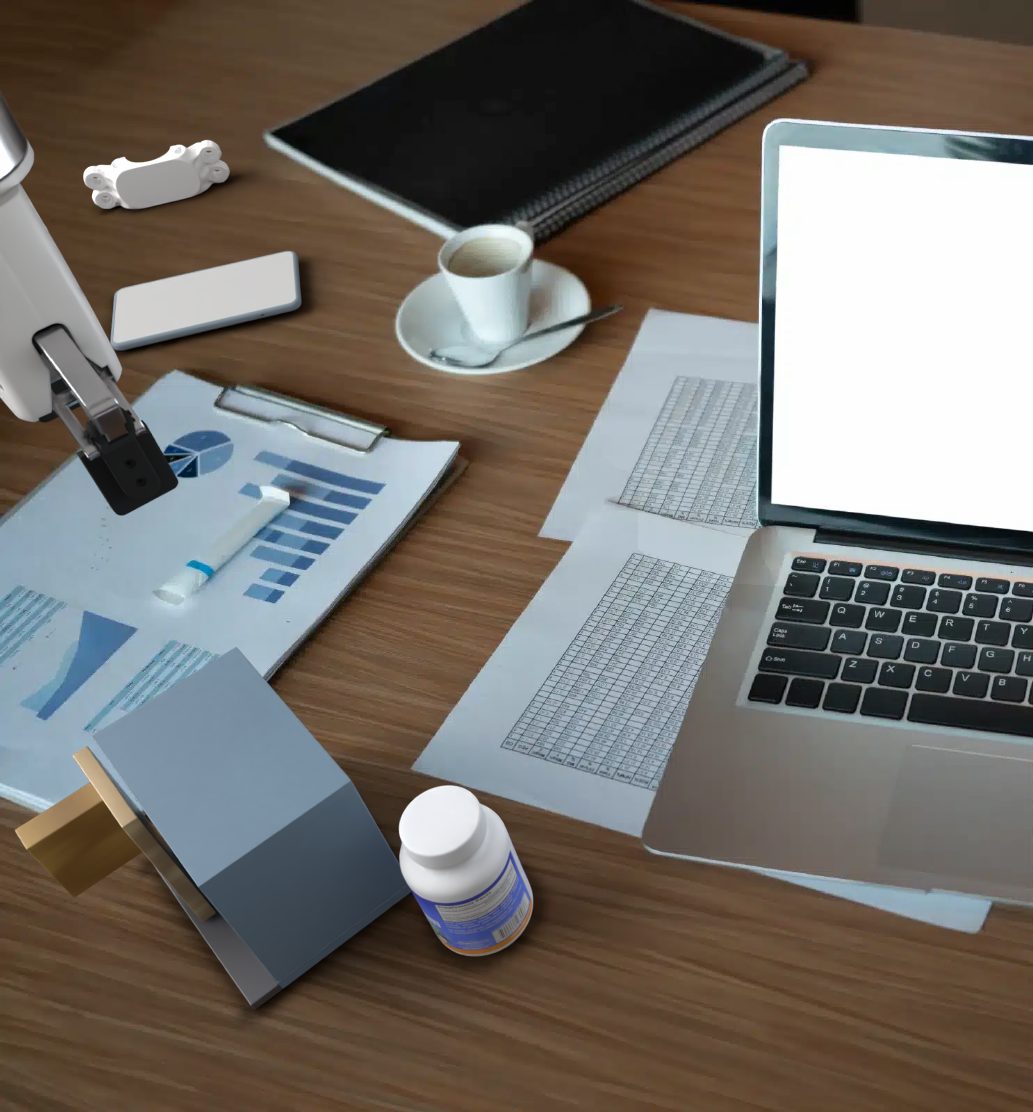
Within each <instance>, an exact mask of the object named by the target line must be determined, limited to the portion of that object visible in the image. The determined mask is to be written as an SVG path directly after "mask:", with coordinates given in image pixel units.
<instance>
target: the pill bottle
mask: <svg viewBox="0 0 1033 1112" xmlns="http://www.w3.org/2000/svg"><path fill="white" fill-rule="evenodd" d="M398 833H399V837H400V841H401V845H400V850H399V861H398V862H399V864H400V868H401V871H402V874H403V876H404V879H405V880H406V882H407V884H408V886H409V888H410V889H411V891H412V892H411V893H412V895H413V896H414V898H415V900H416V901H417V903H418V905H419V906H420V909H421V910H422V912H423V914H424V916H425V917H426V919H427V921H428V922H429V924H430V926H431V928H432V929H433V931H434V933H435V935H436V936H437V938H438V939H439V941H440V942H441V943H442V944H443V945H444V946H445V947H446V948H448V949H449V950H450V951H452V952H453V953H456V954H457V955H458V954H459V955H462V956H466V957H483V956H489V955H492V954H495V953H498V952H500V951H502V950H504V949H506V948H508V947H509V946H510V945H512V944H513V943H515V941H517V939H519V937H520V936H521V935H523V932H524V931H525V929H526V927H527V926H528V925H529V922H530V920H531V917H532V913H533V909H534V895H533V890H532V887H531V883H530V882H529V879H528V877H527V874H526V872H525V870H524V868H523V866H522V863H521V861H520V859H519V856H518V854H517V851H516V849H515V847H514V844H513V842H512V839H511V837H510V834H509V831H508V830H507V827H506V826H505V823H504V821H503V820H502V819H501V817H500V816H499V815H498V814H497V813H496V812H495V811H494V810H492V808H490V807H488V806H487V805H484V804H482V803H480V801H479V799H478V798H477V797H476V796H475V794H474V793H472V792H471V791H470V790H468V789H466V788H465V787H461V786H459V785H458V786H457V785H451V784H450V785H440V786H436V787H433V788H430V789H427V790H425V791H423V792H422V793H420V794H419V795H417V796H416V797H414V798H413V800H412V801H411V802H409V804H407V806H406V808H405V809H404V811H403V812H402V814H401V817H400V819H399V825H398Z"/></svg>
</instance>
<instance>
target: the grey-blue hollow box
mask: <svg viewBox="0 0 1033 1112" xmlns="http://www.w3.org/2000/svg"><path fill="white" fill-rule="evenodd" d="M91 739H92V740H93V741H94V743H95V744H96V745H97V747H98V748H99V750H100V751H101V752H102V754H103V755H104V757H105V758H106V760H107V761H108V763H110V765H111V766H112V768H113V769H114V771H115V772H116V773H117V775H118V776H119V778H120V780H121V781H122V782H123V783H124V785H125V787H127V789H128V790H129V791H130V793H131V795H132V796H133V798H134V799H135V800H136V802H137V803H138V805H139V806H140V808H141V809H142V810H143V812H144V813H145V815H146V817H147V818H148V819H149V821H150V822H151V824H152V825H153V827H154V828H155V829H156V830H157V831H158V833H159V834H160V835H161V836H162V838H163V839H164V840H165V841H166V842H167V844H168V845H169V847H170V848H171V849H172V851H173V852H174V854H175V855H176V856H177V858H178V859H179V861H180V862H181V864H182V865H183V866H184V868H185V869H186V871H187V872H188V873H189V875H190V876H191V878H192V879H193V880H194V882H195V883H196V885H197V886H198V887H199V889H200V890H201V891H202V893H203V894H204V896H205V897H206V898H207V900H208V901H209V903H210V904H211V906H212V907H213V908H214V910H215V911H216V913H215V914H214V915H212V916H211V917H210V918H208V919H207V920H205V921H204V922H202V921H201V920H200V918H199V917H198V916H197V915H196V914H195V913H194V911H193V910H192V909H191V908H190V907H189V906H188V904H187V903H186V902H185V901H184V900H183V899H182V897H181V896H180V895H179V894H178V893H177V892H176V890H175V889H174V888H173V887H172V886H171V885H170V883H169V882H168V881H167V880H166V879H165V878H164V876H163V875H162V874H161V873H160V872H159V871H158V869H157V868H156V867H155V866H154V865H153V864H152V862H151V861H150V863H151V864H152V865H153V867H154V869H155V870H156V872H157V873H158V874H159V876H160V877H161V879H162V880H163V881H164V883H165V884H166V886H167V888H168V889H169V891H170V892H171V893H172V895H173V896H174V897H175V899H176V900H177V902H178V903H179V905H180V906H181V908H182V909H183V910H184V912H185V913H186V915H187V916H188V918H189V919H190V921H191V922H192V923H193V925H194V926H195V928H196V929H197V931H198V932H199V934H200V935H201V936H202V938H203V940H204V941H205V943H206V945H208V947H209V948H210V950H211V951H212V953H213V954H214V955H215V957H216V958H217V960H218V961H219V962H220V964H221V965H222V967H223V968H224V970H225V971H226V973H227V974H228V975H229V977H230V979H231V980H232V981H233V982H234V984H235V986H236V987H237V989H238V990H239V992H240V993H241V994H242V996H243V997H244V998H245V1000H246V1001H247V1003H248V1004H249V1006H250V1007H251V1008H252V1010H257V1009H258V1008H259V1007H261V1006H263V1005H264V1004H265V1003H267V1002H268V1001H269V1000H270V999H272V998H273V997H274V996H275V995H277V994H278V993H279V992H281V991H283V989H285V988H286V987H288V986H289V985H290V984H292V983H293V982H294V981H295V980H297V979H298V978H299V977H301V976H302V975H303V974H305V973H306V972H308V971H309V970H311V968H312V967H314V966H316V965H317V964H318V963H319V962H321V961H323V959H324V958H326V957H328V955H329V954H332V952H333V951H336V950H337V948H339V947H340V946H342V945H343V944H344V943H345V942H347V941H348V940H350V939H352V937H354V936H355V935H357V934H358V933H359V932H360V931H362V930H363V929H364V928H366V927H367V926H368V925H369V924H371V923H372V922H373V921H375V920H376V919H377V918H379V917H380V916H381V915H383V914H384V913H386V912H387V911H388V910H389V909H390V908H392V907H393V906H394V905H396V904H397V903H398V902H400V901H401V900H402V899H404V898H405V897H406V896H408V895H409V894H410V893H412V891H411V889H410V888H409V886H408V884H407V882H406V880H405V879H404V876H403V874H402V871H401V868H400V862H399V861H398V859H397V858H396V856H395V854H394V852H393V850H392V849H391V847H390V845H389V843H388V841H387V840H386V838H385V837H384V834H383V833H382V832H381V830H380V827H379V826H378V825H377V822H376V821H375V819H374V817H373V816H372V814H371V812H370V811H369V809H368V806H367V805H366V803H365V802H364V800H363V799H362V796H361V795H360V793H359V791H358V790H357V787H356V786H355V784H354V783H353V781H352V779H351V778H350V777H349V776H348V775H347V774H346V772H345V771H344V770H343V769H342V768H341V766H340V765H339V764H338V763H337V762H336V761H335V759H333V758H332V756H331V755H330V754H329V752H328V751H327V750H326V749H325V748H324V747H323V746H322V744H321V743H320V742H319V741H318V740H317V738H316V737H315V736H314V735H313V734H312V733H311V731H309V729H308V728H307V727H306V726H305V725H304V723H303V722H302V721H301V720H300V719H299V718H298V716H297V715H296V714H295V713H294V712H293V710H292V709H291V708H290V707H289V706H288V704H287V703H286V702H285V701H284V700H283V698H281V697H280V695H278V693H277V692H276V691H275V689H274V688H273V687H272V686H271V685H270V684H269V682H267V680H266V679H265V678H264V677H263V676H262V675H261V673H260V672H259V671H258V670H257V669H256V667H255V666H254V665H253V664H252V662H250V661H249V659H248V658H247V657H246V656H245V654H244V653H243V651H241V650H240V649H239V647H237V646H234V647H233V648H231V649H230V650H228V651H227V652H225V653H224V654H222V655H220V656H219V657H217V658H215V659H213V660H212V661H211V662H209V663H208V664H206V665H204V666H203V667H201V668H200V669H198V670H196V671H195V672H193V673H191V674H189V675H188V676H187V677H186V676H185V678H183V679H182V680H180V681H178V682H176V683H175V684H174V685H172V686H171V687H169V688H167V689H166V690H164V691H162V692H160V693H159V694H157V695H156V696H153V697H152V698H151V699H149V700H147V701H146V702H144V703H143V704H141V705H139V706H137V708H135V709H133V710H131V711H129V712H128V713H126V714H125V715H123V716H121V717H120V718H118V719H116V720H115V721H114V722H112V723H110V724H109V725H107V726H105V727H104V728H102V729H101V730H99V731H97V732H96V733H94V734H93V735H91Z"/></svg>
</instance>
